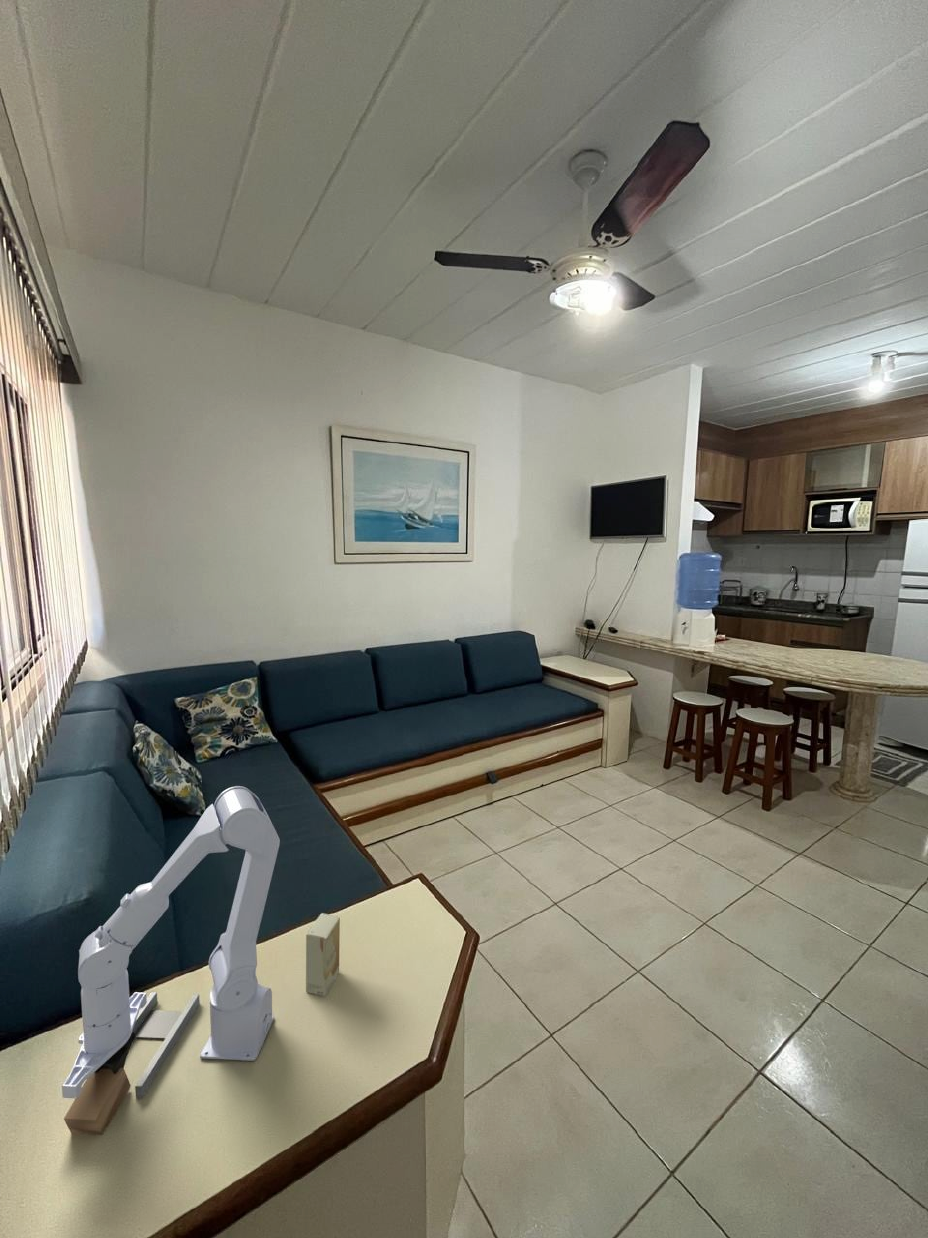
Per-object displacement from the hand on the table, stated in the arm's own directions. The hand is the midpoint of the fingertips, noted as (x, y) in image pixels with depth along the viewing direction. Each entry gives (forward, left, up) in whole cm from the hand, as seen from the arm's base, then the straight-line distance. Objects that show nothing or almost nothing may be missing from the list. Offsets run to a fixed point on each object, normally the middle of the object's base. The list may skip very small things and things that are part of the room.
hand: (111, 1087), depth 75 cm
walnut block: (0, +2, -2) cm, 3 cm away
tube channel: (0, -8, -2) cm, 8 cm away
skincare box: (-26, -22, -2) cm, 34 cm away
